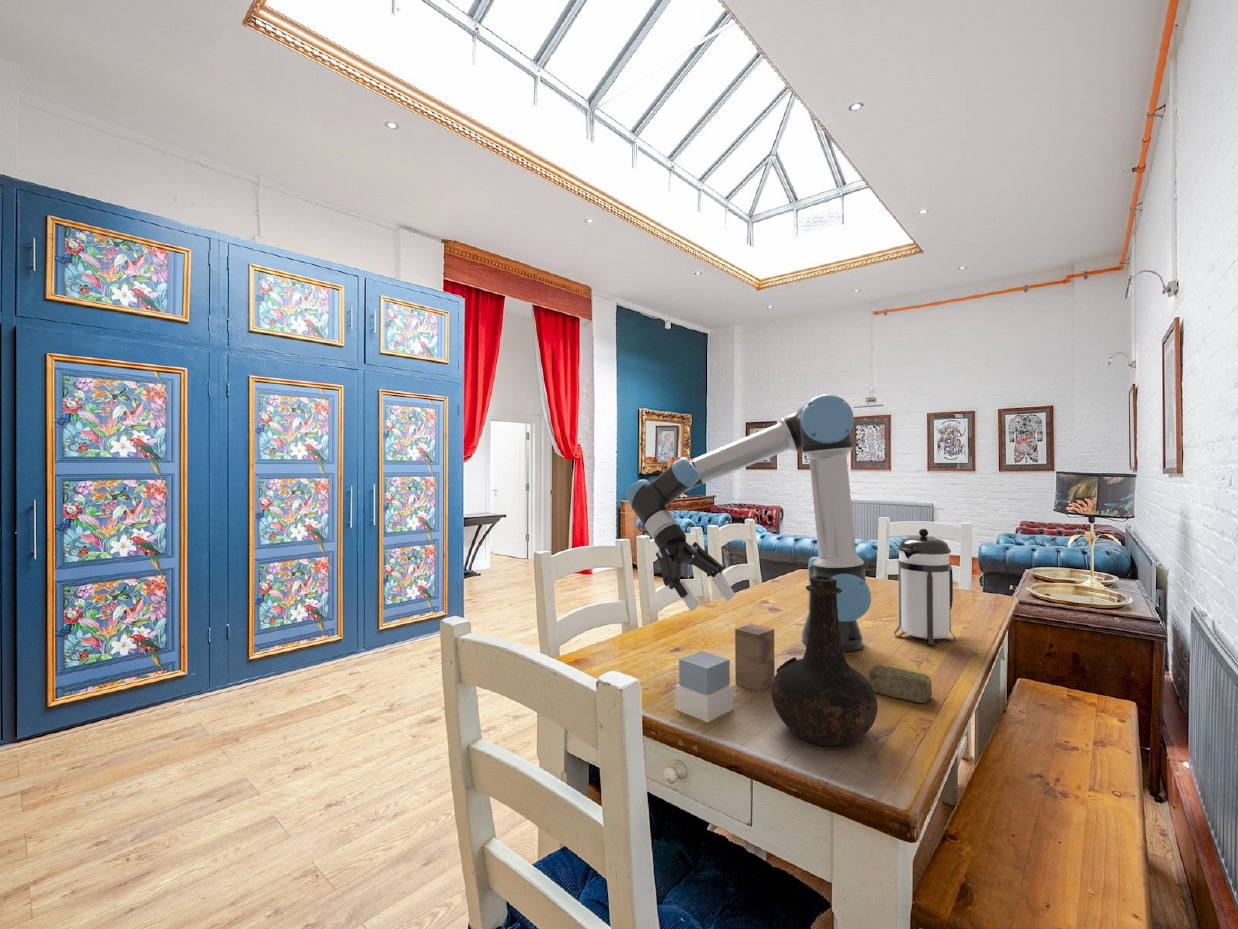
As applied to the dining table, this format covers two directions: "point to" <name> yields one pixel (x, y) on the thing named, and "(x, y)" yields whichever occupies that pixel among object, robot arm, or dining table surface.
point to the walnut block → (754, 656)
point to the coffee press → (925, 588)
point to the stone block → (900, 683)
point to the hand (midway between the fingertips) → (713, 602)
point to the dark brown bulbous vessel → (824, 680)
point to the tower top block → (704, 672)
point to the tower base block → (704, 702)
